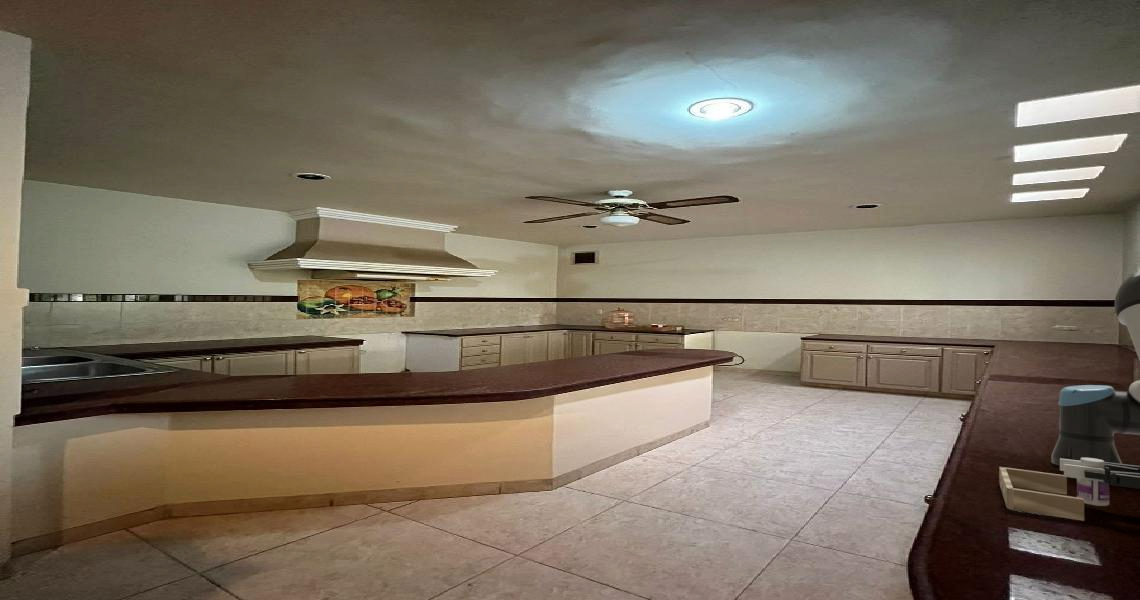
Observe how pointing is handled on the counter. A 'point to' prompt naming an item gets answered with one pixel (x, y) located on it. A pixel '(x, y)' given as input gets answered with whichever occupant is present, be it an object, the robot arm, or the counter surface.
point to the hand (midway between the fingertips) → (1062, 467)
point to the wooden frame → (1039, 493)
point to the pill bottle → (1093, 485)
